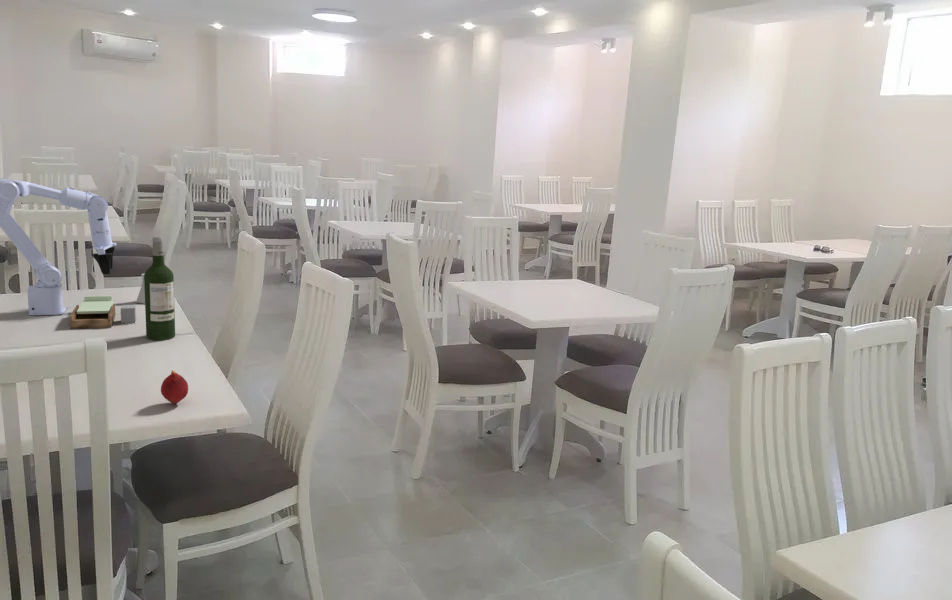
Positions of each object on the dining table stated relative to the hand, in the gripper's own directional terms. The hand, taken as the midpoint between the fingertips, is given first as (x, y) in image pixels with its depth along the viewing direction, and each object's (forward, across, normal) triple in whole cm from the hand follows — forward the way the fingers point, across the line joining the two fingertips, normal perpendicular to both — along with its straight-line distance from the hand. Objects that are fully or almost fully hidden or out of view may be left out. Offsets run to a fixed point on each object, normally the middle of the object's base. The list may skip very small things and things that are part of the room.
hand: (107, 271), depth 246 cm
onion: (+11, -97, -22) cm, 100 cm away
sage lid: (+9, -13, +4) cm, 16 cm away
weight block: (+12, -21, -6) cm, 25 cm away
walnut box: (+11, -20, +4) cm, 23 cm away
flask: (+14, +6, -10) cm, 18 cm away
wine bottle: (+13, -40, -16) cm, 45 cm away
